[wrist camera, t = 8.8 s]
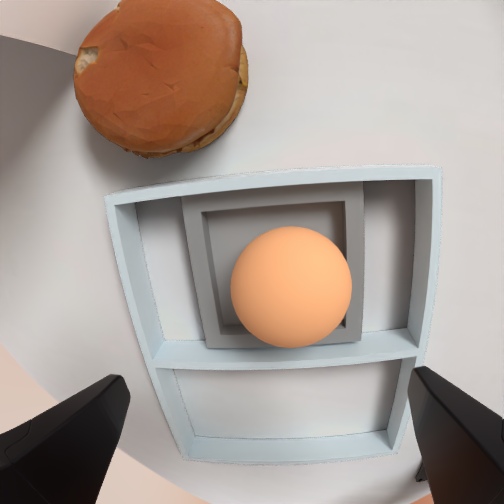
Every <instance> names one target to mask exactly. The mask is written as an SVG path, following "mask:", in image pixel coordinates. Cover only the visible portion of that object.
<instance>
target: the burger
mask: <svg viewBox="0 0 504 504" xmlns="http://www.w3.org/2000/svg"><path fill="white" fill-rule="evenodd" d="M73 80H74V88H75V94H76V99H77V101H78V103H79V105H80V107H81V109H82V111H83V113H84V116H85V117H86V118H87V120H88V121H89V122H90V123H91V124H92V126H93V127H94V128H95V129H96V130H97V131H98V132H99V133H100V134H101V135H103V136H104V137H105V138H106V139H108V140H109V141H111V142H113V143H115V144H117V145H119V146H120V147H122V148H123V149H124V150H125V151H126V152H130V151H132V152H133V153H135V154H136V155H141V156H142V157H145V158H147V159H148V157H152V158H154V157H163V156H168V155H170V154H172V153H179V152H191V151H195V150H198V149H200V148H203V147H204V146H206V145H208V144H209V143H211V142H212V141H214V140H215V139H216V138H218V137H219V136H220V135H221V134H223V132H224V131H225V130H226V129H227V128H228V127H229V125H230V124H231V123H232V122H233V121H234V119H235V118H236V116H237V115H238V113H239V111H240V108H241V106H242V104H243V102H244V99H245V95H246V92H247V88H248V60H247V55H246V51H245V49H244V47H243V45H242V26H241V23H240V21H239V19H238V18H237V17H236V16H235V14H234V13H233V12H232V11H231V10H229V9H228V8H227V7H225V6H224V5H223V4H221V3H220V2H218V1H216V0H122V1H121V2H119V3H118V5H117V7H116V8H115V9H114V10H113V11H111V12H110V13H108V14H107V15H106V16H105V17H103V18H102V19H101V20H100V21H99V22H98V23H97V24H96V25H95V26H94V27H93V29H92V30H91V31H90V32H89V33H88V35H87V36H86V37H85V39H84V41H83V42H82V44H81V46H80V47H79V51H78V54H77V59H76V63H75V68H74V76H73Z"/></svg>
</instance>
